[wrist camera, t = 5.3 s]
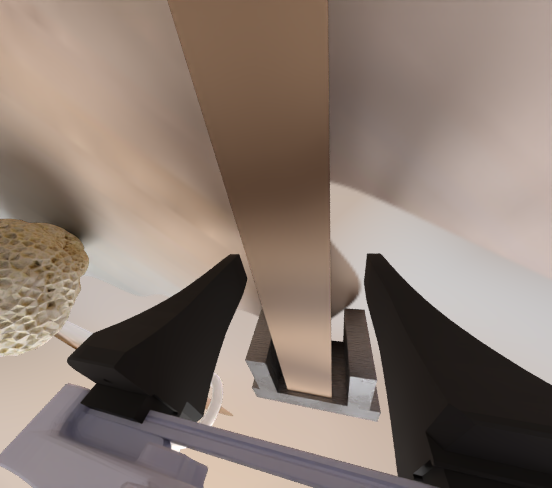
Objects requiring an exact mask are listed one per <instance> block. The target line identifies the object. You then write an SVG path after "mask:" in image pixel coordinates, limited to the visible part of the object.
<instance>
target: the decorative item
mask: <svg viewBox="0 0 552 488" xmlns="http://www.w3.org/2000/svg"><path fill="white" fill-rule="evenodd" d="M88 264H89V258H88V256H87V254H86V252H85V251H84V246H83V244H82V242H81V241H80V240H79V239H78V238H77V237H76V236H74V235H72V234H71V233H69V232H67V231H66V230H65V229H64V228H61V227H58V226H55V225H52V224H48V223H27V222H25V221H22V220H17V219H0V357H2V356H7V355H16V356H17V355H20V354H22V353H25V352H27V351H30V350H34V349H37V348H38V347H40V346H41V345H43V344H44V343H46V342H47V341H49V340H50V339H51V337H53V336H54V335H55V334H56V333H57V332H59V331H60V330H61V328H62V327H63V325H64V324H65V322H66V321H67V319H68V316H69V313H70V310H71V308H72V306H73V305H74V302H75V299H76V297H77V296H78V294H79V292H80V290H81V285H80V277H81V276H82V275H84V274H85V272H86V270H87V268H88Z"/></svg>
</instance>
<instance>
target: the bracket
mask: <svg viewBox="0 0 552 488" xmlns="http://www.w3.org/2000/svg"><path fill="white" fill-rule="evenodd" d="M245 361H246V363H247V365H248V367H249V368H250V370H251V372H252V374H253V376H254V378H255V379H254V383H253V386H252V388H253V390H254V392H255V394H256V396H257V397H260V398H265V399H270V400H275V401H280V402H285V403H290V404H295V405H299V406H304V407H309V408H314V409H319V410H323V411H328V412H334V413H338V414H343V415H347V416H352V417H357V418H362V419H367V420H372V421H376V422H377V421H378V419H379V416H380V413H381V412H380V406H379V401H378V394H377V389H376V383H377V377H376V372H375V367H374V361H373V356H372V350H371V344H370V338H369V333H368V327H367V322H366V316H365V311H364V310H359V309H344V336H343V342H339V341H331V381H332V398H327V397H322V396H317V395H312V394H307V393H302V392H297V391H291V390H288V389H287V385H286V382H285V379H284V376H283V373H282V369H281V366H280V363H279V360H278V356H277V353H276V350H275V347H274V343H273V340H272V337H271V334H270V330H269V327H268V324H267V321H266V318H265V314H264V311H263V308H262V310H261V313H260V316H259V319H258V323H257V325H256V328H255V331H254V335H253V338H252V341H251V344H250V347H249V350H248V353H247V356H246V359H245Z"/></svg>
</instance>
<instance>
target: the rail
mask: <svg viewBox="0 0 552 488" xmlns="http://www.w3.org/2000/svg"><path fill="white" fill-rule="evenodd" d="M167 1H168V4H169V7H170V10H171V14H172V17H173V20H174V23H175V27H176V30H177V33H178V36H179V39H180V43H181V46H182V49H183V52H184V56H185V59H186V62H187V65H188V69H189V72H190V75H191V78H192V81H193V85H194V88H195V91H196V94H197V98H198V101H199V104H200V107H201V111H202V114H203V117H204V120H205V124H206V127H207V130H208V133H209V136H210V140H211V143H212V146H213V149H214V153H215V156H216V159H217V162H218V166H219V169H220V172H221V175H222V178H223V182H224V185H225V188H226V191H227V195H228V198H229V201H230V204H231V208H232V211H233V214H234V217H235V221H236V224H237V227H238V230H239V233H240V237H241V240H242V243H243V246H244V250H245V253H246V256H247V259H248V263H249V266H250V269H251V272H252V276H253V279H254V282H255V285H256V288H257V292H258V295H259V298H260V301H261V305H262V308H263V311H264V314H265V318H266V321H267V324H268V327H269V330H270V334H271V337H272V340H273V343H274V347H275V350H276V353H277V356H278V360H279V363H280V366H281V369H282V373H283V376H284V379H285V382H286V385H287V389H288V390H291V391H297V392H302V393H307V394H312V395H317V396H322V397H327V398H332V381H331V273H330V166H329V58H328V0H167Z"/></svg>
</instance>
